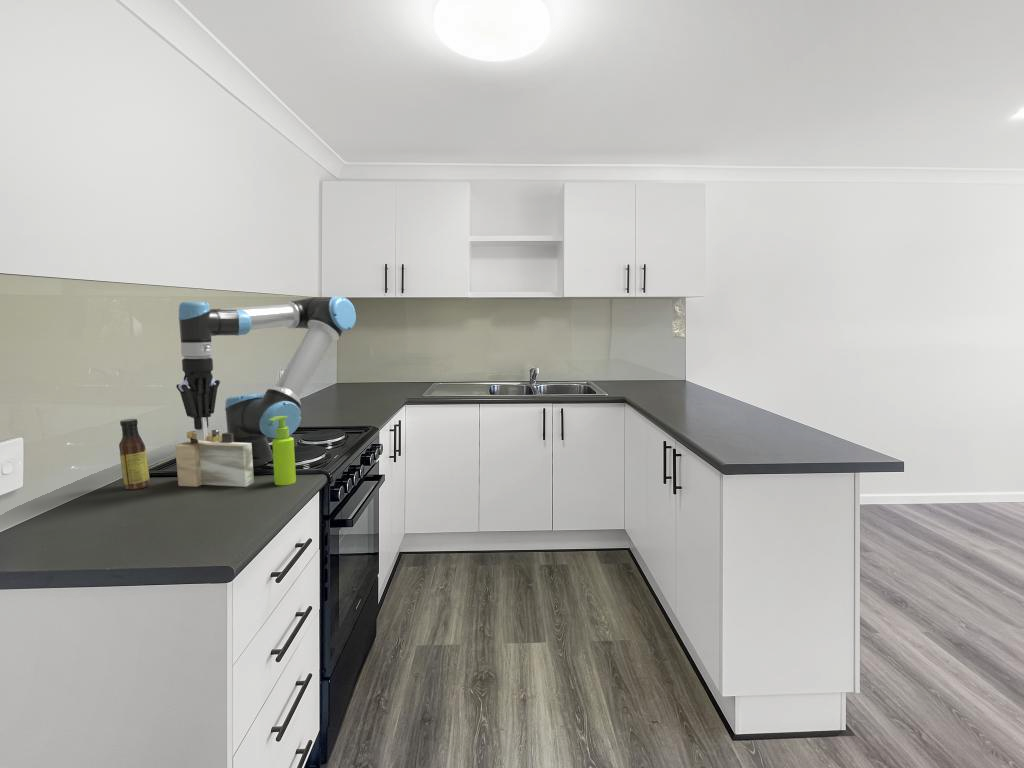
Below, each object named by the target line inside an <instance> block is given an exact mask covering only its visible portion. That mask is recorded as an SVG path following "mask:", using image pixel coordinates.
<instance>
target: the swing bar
mask: <svg viewBox="0 0 1024 768" xmlns="http://www.w3.org/2000/svg"><path fill="white" fill-rule="evenodd" d="M207 435H208V436H207V440H206V441H209V442H222V434H220V430H219V429H212V430H211V433H210V432H207ZM186 438H187V439H197V435H196V430H190V431H186Z"/></svg>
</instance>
